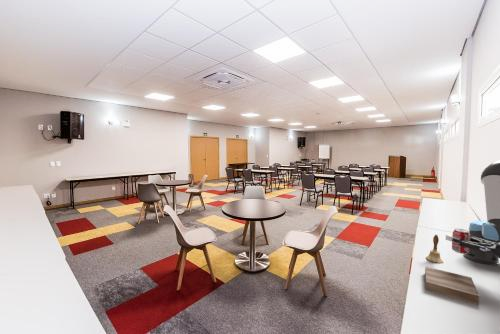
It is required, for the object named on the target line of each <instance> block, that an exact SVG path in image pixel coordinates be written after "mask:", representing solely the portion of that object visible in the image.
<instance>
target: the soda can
mask: <svg viewBox="0 0 500 334" xmlns="http://www.w3.org/2000/svg"><path fill="white" fill-rule="evenodd" d="M451 236H453V237H456V238H462V240H466V241H470V234H469V230H466V229H464V228H463V229H462V228H454V230H453V231H452V235H451ZM451 250H452V251H454V252H455V253H458V254H460V255H461V254H462V255H464V254H467V253H469V250H470V248H467V247H463V246H460V245H459V244H458V243H455V242H452V241H451Z"/></svg>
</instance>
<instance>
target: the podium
mask: <svg viewBox="0 0 500 334" xmlns="http://www.w3.org/2000/svg"><path fill="white" fill-rule="evenodd" d="M424 276H425V278H424V281H425V290H426V291H429V292H432V291H433V292H432V293H435V294H439V295H443V296H447V297H450V298H453V299H457V300H461V301H464V302H468V303H471V304H475V305H477V306H478V305H480V294H479V292H478V290H477V288H476V285H475V282H474V280H473V278H472V277H470V276H466V275H463V274H458V273H455V272H451V271H445V270H442V269H437V268H433V267H429V266H425V267H424Z"/></svg>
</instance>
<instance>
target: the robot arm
mask: <svg viewBox="0 0 500 334" xmlns="http://www.w3.org/2000/svg"><path fill="white" fill-rule="evenodd" d="M480 183H481V184H482V185H483V190H484V199H485V200H484V201H485V211H486V220H475V221H471V222H470V223H469V225H468V231H469V234H470V241H466V240H462V238H456V237H453V236H452V235H448V234H446V235H445V240H446V241H449V242H451V243H452V242H455V243H458V244H459V245H460V246H463V247H467V248H470V250H469V253H467V254H463V256H464V258H466V259H468V260H471V261H473V262H476V263H480V264H484V265H490V264H496V265H498V264H497V263H499V262H500V261H499V260H500V160H497V161H495V162H492V163H490V164H489V165H488V166H487V167H485V168H484V169H483V170H482V172H481V175H480ZM499 264H500V263H499Z"/></svg>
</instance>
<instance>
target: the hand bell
mask: <svg viewBox="0 0 500 334" xmlns="http://www.w3.org/2000/svg"><path fill="white" fill-rule="evenodd" d="M432 241H433V242H432V243H433V249H431V250H430V251H429V253H428V255H427V256H426V257H425V259H426V260H427V259H428V260H427V261H429V260H430V261H429V262H431V261H433V262H432V263H434V262H437V263H436V264H443V263H444V260H443V259H442V258H441V253H440V251H438V245H439V236H438V234H434V236H433V237H432Z"/></svg>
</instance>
